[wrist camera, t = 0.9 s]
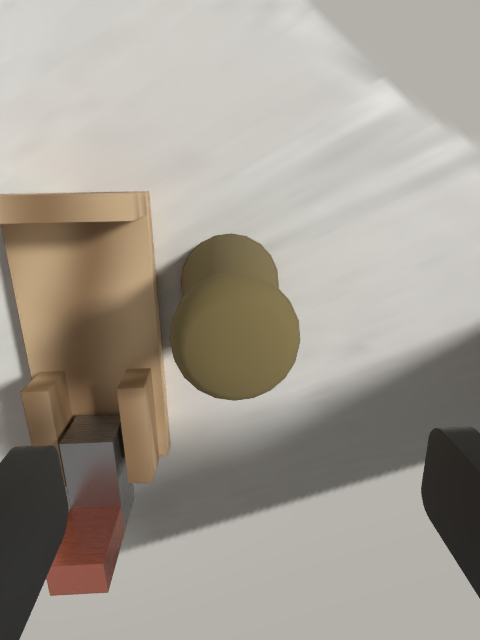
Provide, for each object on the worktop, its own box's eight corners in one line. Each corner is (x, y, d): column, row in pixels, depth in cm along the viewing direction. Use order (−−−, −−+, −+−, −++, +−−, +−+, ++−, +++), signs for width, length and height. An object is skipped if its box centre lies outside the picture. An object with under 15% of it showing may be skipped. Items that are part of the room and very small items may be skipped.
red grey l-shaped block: (124, 413, 26) (91, 492, 19) (134, 496, 28) (108, 592, 22) (76, 415, 26) (27, 495, 19) (90, 498, 28) (50, 595, 21)
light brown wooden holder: (148, 191, 23) (129, 193, 18) (170, 444, 29) (159, 498, 24) (5, 194, 23) (-53, 196, 18) (54, 449, 28) (20, 505, 23)
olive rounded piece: (238, 346, 27) (250, 451, 16) (161, 292, 25) (120, 369, 15) (298, 273, 25) (353, 337, 15) (220, 212, 24) (220, 235, 13)
